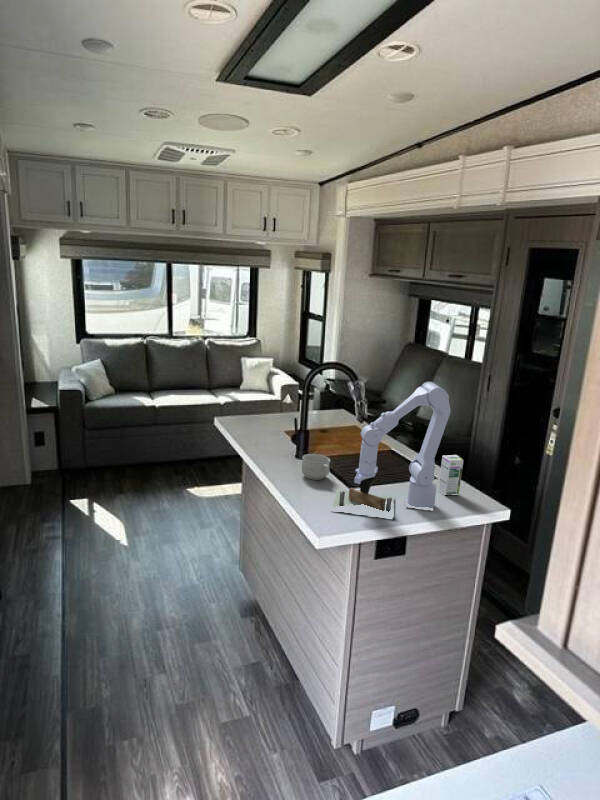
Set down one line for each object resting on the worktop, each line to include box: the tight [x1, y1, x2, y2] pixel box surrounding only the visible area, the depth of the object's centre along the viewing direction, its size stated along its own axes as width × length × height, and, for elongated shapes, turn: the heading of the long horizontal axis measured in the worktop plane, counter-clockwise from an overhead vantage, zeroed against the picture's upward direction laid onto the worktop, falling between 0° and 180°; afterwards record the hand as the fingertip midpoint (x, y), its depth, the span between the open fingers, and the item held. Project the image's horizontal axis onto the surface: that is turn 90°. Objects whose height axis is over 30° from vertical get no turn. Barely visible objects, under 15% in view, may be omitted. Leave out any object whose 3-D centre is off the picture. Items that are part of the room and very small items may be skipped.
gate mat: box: [332, 488, 396, 508], centre depth 194 cm, size 21×18×1 cm
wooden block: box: [348, 487, 386, 511], centre depth 192 cm, size 14×1×4 cm, turn 56°
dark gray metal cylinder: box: [339, 491, 392, 512], centre depth 189 cm, size 18×2×6 cm, turn 80°
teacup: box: [301, 453, 331, 481], centre depth 213 cm, size 14×11×8 cm
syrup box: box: [437, 454, 464, 495], centre depth 208 cm, size 6×6×14 cm
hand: (363, 496), depth 194 cm, fingers closed, pressing on wooden block
